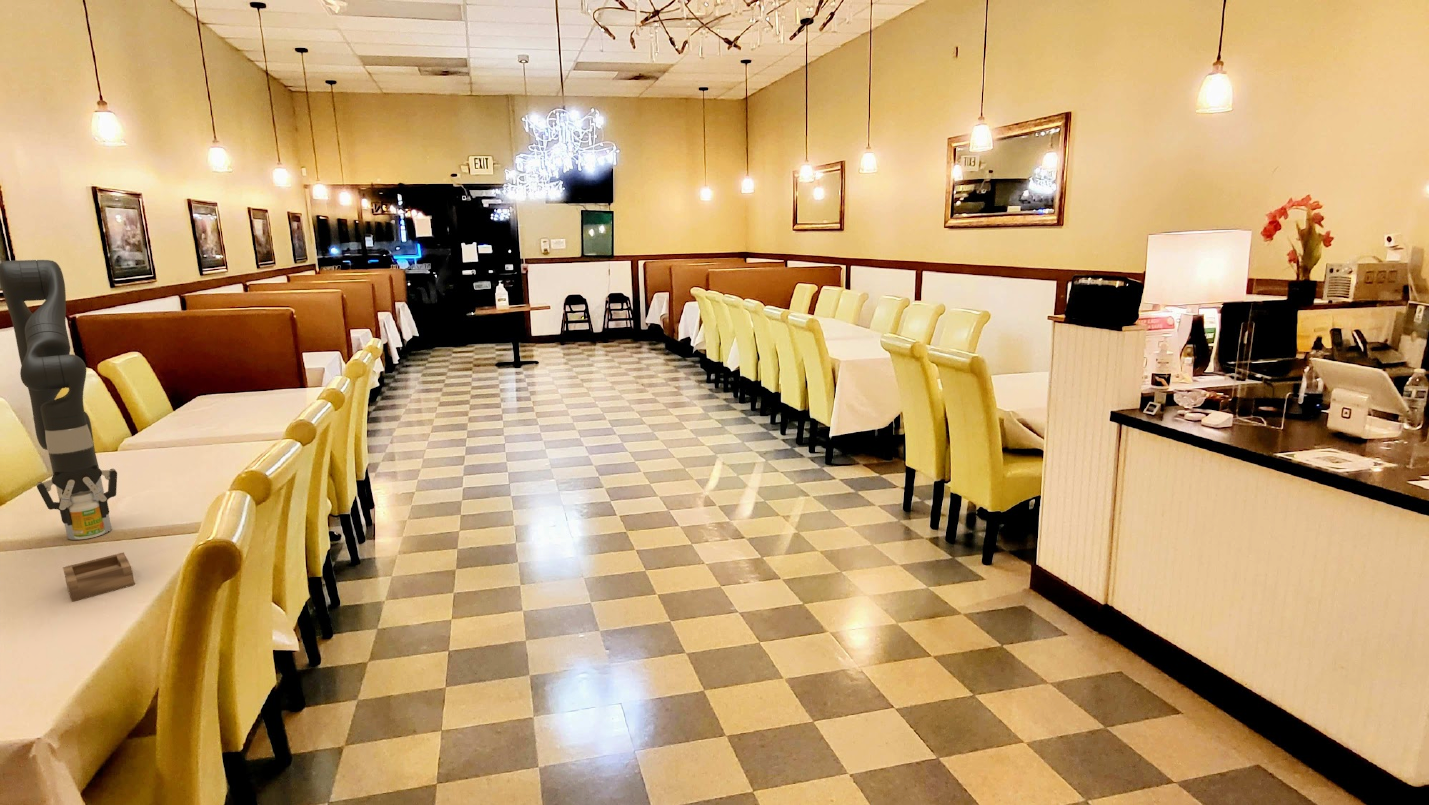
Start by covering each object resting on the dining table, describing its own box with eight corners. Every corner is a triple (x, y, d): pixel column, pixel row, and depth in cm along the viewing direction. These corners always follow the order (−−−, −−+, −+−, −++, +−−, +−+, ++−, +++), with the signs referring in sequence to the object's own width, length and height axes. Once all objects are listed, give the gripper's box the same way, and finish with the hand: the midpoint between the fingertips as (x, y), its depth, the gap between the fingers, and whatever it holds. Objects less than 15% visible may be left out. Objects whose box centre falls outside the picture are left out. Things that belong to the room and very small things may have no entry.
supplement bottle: (87, 540, 165) (78, 498, 163) (68, 539, 166) (58, 497, 164) (111, 531, 171) (103, 490, 168) (92, 529, 172) (83, 489, 170)
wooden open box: (67, 585, 171) (62, 567, 170) (127, 570, 179) (123, 552, 178) (72, 601, 164) (67, 582, 163) (134, 584, 171) (131, 566, 170)
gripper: (110, 437, 172) (124, 508, 175) (25, 451, 162) (42, 525, 166) (114, 443, 166) (129, 516, 170) (27, 457, 157) (45, 534, 160)
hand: (86, 520), depth 168 cm, fingers closed on supplement bottle, 5 cm apart
